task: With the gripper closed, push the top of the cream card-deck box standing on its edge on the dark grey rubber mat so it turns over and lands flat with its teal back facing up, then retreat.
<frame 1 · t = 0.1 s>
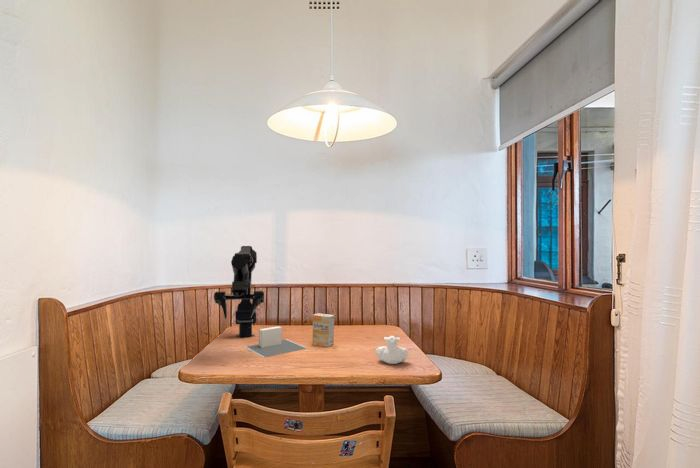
hand: (238, 317, 142), 15 cm above the table, tool tilted 35°, fingers open, 9 cm apart
mat: (276, 348, 154), on the table
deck: (270, 344, 158), resting on mat
supplement box: (323, 346, 159), on the table
white animal figurine: (391, 363, 137), on the table
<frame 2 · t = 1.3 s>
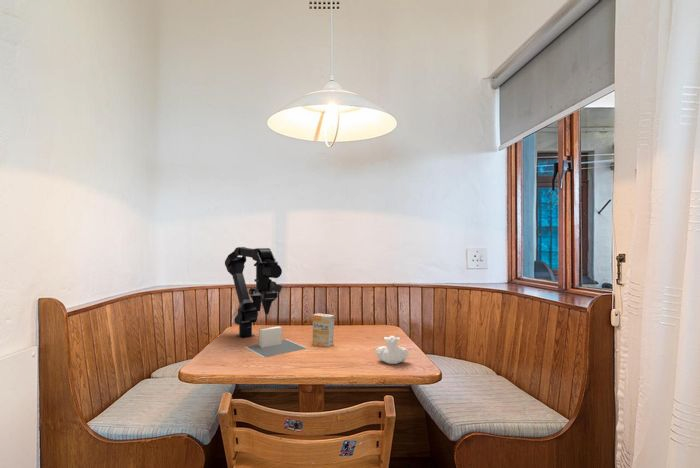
hand: (262, 312, 163), 13 cm above the table, tool pointing down, fingers open, 9 cm apart
nothing on the table moved.
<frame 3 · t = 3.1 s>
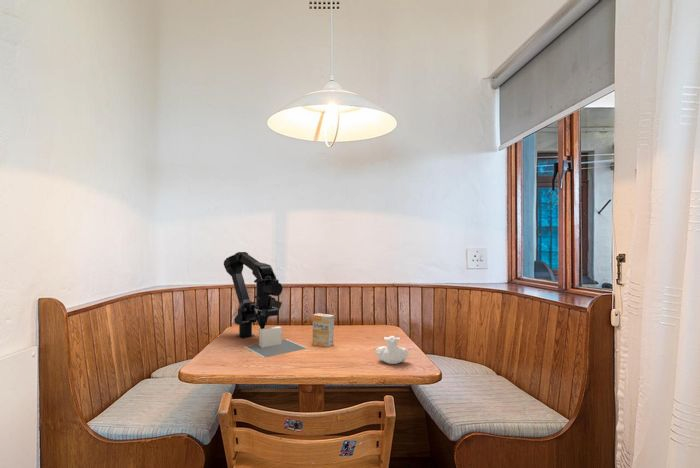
hand: (262, 329, 164), 6 cm above the table, tool pointing down, fingers closed
nothing on the table moved.
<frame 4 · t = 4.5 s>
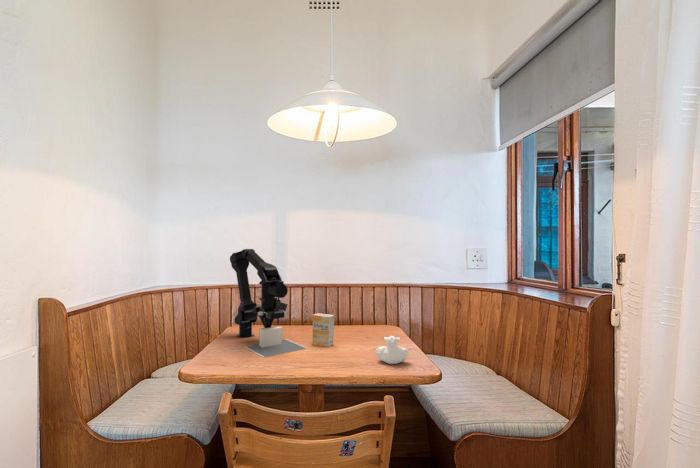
hand: (267, 332, 160), 5 cm above the table, tool pointing down, fingers closed
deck: (270, 344, 158), resting on mat, touching gripper
everything else where it was.
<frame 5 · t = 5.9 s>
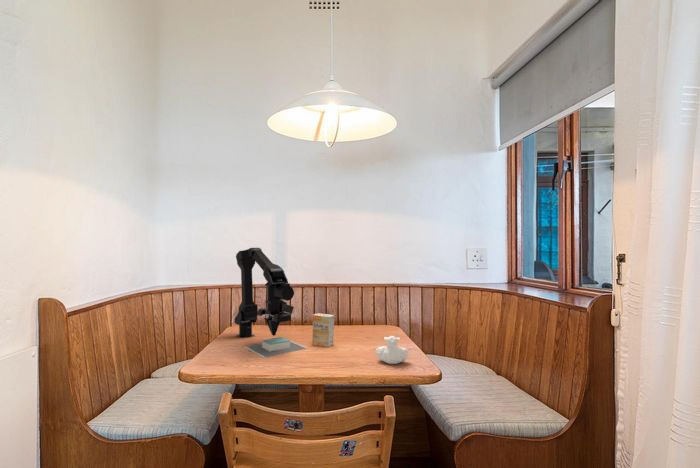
hand: (273, 335, 156), 5 cm above the table, tool pointing down, fingers closed
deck: (272, 342, 157), point 2 cm above the table, tilted 90°, touching mat
everything else where it was.
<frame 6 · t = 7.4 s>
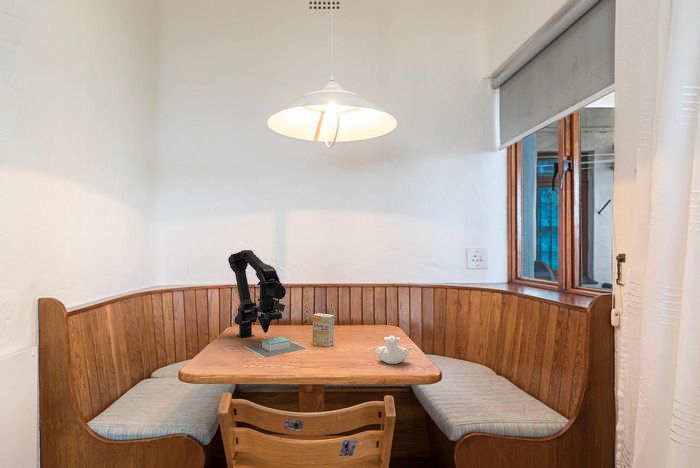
hand: (265, 332, 161), 5 cm above the table, tool pointing down, fingers closed
nothing on the table moved.
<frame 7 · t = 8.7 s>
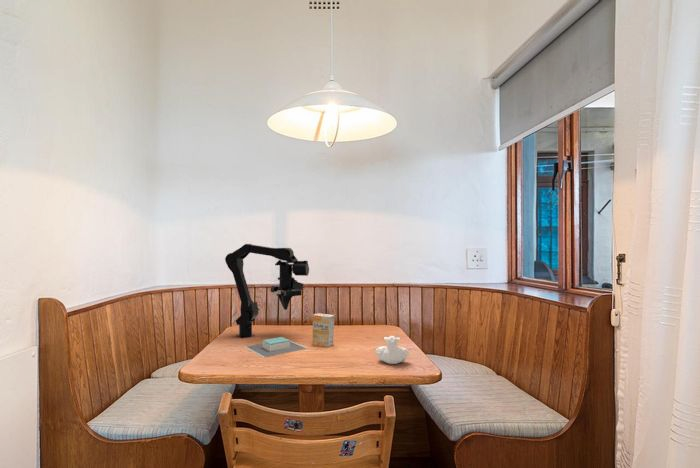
hand: (285, 309, 170), 13 cm above the table, tool pointing down, fingers closed
nothing on the table moved.
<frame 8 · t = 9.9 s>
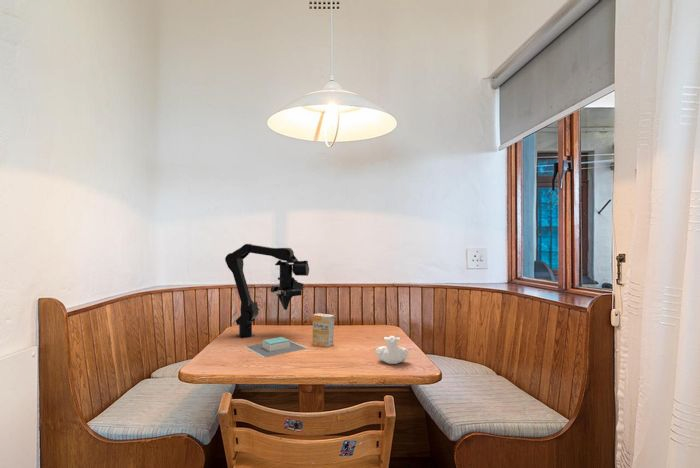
hand: (285, 309, 170), 13 cm above the table, tool pointing down, fingers closed
nothing on the table moved.
at the end: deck tilted 90°; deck inside the target area (5.5 cm from its centre), point 1.9 cm above the table; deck touching mat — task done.
